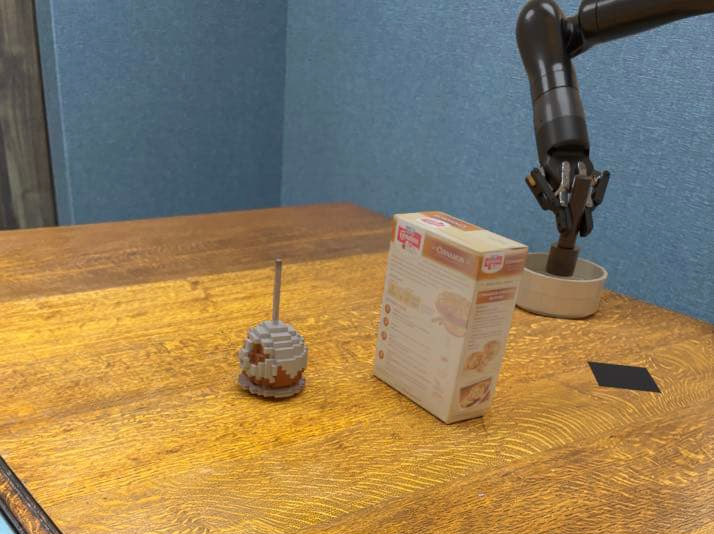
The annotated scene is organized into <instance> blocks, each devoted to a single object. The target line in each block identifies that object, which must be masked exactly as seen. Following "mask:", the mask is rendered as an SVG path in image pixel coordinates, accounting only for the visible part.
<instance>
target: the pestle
mask: <svg viewBox="0 0 714 534" xmlns="http://www.w3.org/2000/svg"><path fill="white" fill-rule="evenodd" d="M592 180H593V178H592V177H589V176H585V175H575V177H574V181H573V185H572V189H571V193H570V194H569V196H568V205H567V207H569V208H570V214H571V221H572V227H573V229H572V232H571V233H570V234H569V235H568V236H567V237H561V233H559V237H558V240H557V241H554V242H552V243H551V244H550V248H549V252H548V253H549V256H548V260H547V264H546V268H545V271H546V272H547V273H549V274H552V275H555V276H560V277H570V276H573V274H574V270H575V267H576V263H577V259H578V258H579V255H580V252H581V247H580V246H578V245H576V243H577V240H578V236H579V229H580V225H581V221H582V217H583V214H584V210H585V206H586V202H587V199H588V195H589V191H590V192H591V190H590V188H592V187H591V184H592Z"/></svg>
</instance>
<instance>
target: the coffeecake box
mask: <svg viewBox="0 0 714 534" xmlns="http://www.w3.org/2000/svg"><path fill="white" fill-rule="evenodd" d="M529 249H530V247H529V246H528V245H526V244H523V243H520V242H518V241H516V240H513V239H510V238H507V237H505V236H502V235H500V234H498V233H495V232H492V231H490V230H487V229H485V228H482V227H480V226H478V225H475V224H473V223H470V222H467V221H466V220H462V219H460V218H457V217H454V216H452V215H450V214H448V213H444V212H442V211H439V210H432V211H418V212H409V213H408V212H407V213H395V214H393V219H392V228H391V236H390V242H389V249H388V256H387V257H388V258H387V264H386V272H385V279H384V287H383V293H382V301H381V308H380V315H379V323H378V329H377V336H376V337H377V338H376V346H375V352H374V360H373V366H372V375H373V376H375V377H376V378H378V379H379V380H381V381H382V382H384V383H386V384H387V385H388V386H390V387H391V388H393V389H395V391H397V392H399V393H400V394H402V395H403V396H405V397H407V398H408V399H410V400H411V401H412V402H414V403H415V404H417V405H418V406H420V407H421V408H423V409H424V410H425V411H427V412H429V413H430V414H432V415H433V416H435V417H436V418H438V419H439V420H441V421H442V422H444V424H446V425H449V424H450V425H451V424H453V423H457V422H461V421H464V420H470V419H475V418H480V417H483V416H484V415H483V414H486V413H490V412H491V410H492V408H493V407H492V406H493V402H494V398H495V394H496V389H497V385H498V381H499V376H500V373H501V367H502V364H503V359H504V355H505V351H506V347H507V342H508V338H509V334H510V329H511V325H512V320H513V317H514V311H515V307H516V300H517V295H518V291H519V287H520V282H521V278H522V274H523V270H524V265H525V261H526V257H527V253H529Z"/></svg>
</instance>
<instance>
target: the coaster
mask: <svg viewBox="0 0 714 534" xmlns="http://www.w3.org/2000/svg"><path fill="white" fill-rule="evenodd" d="M587 364H588V366H589V368H590V371H591V372H592V374H593V376H594V379H595V380H596V383H597V385H598V386H599V387H601V388H602V387H603V388H610V389H611V388H612V389H622V390H630V391H638V392H649V393H656V394H657V393H658V394H662V391H661V389H660V388H659V385H658V384H657V382H656V381H655V379H654V378H653V377H652V375H651V373H650V372H649V370H648V368H647V367H645V366H644V367H643V366H634V365H627V364H626V365H625V364H617V363H608V362H607V363H606V362H600V361H599V362H598V361H590V360H587Z"/></svg>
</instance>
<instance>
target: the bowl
mask: <svg viewBox="0 0 714 534" xmlns="http://www.w3.org/2000/svg"><path fill="white" fill-rule="evenodd" d="M548 256H549V252H542V251H541V252H537V251H533V252H528V253H527V257H526V261H525V265H524V270H523V274H522V278H521V282H520V287H519V291H518V295H517V300H516V304H515V306H517V307H518V308H521V309H523V310H524V311H527V312H530V313H533V314H536V315H540V316H544V317H547V318H548V317H549V318H556V319H564V320H565V319H567V320H569V319H570V320H572V319H573V320H574V319H581V318H586V317H588V316H591V315H593V314H594V313H596V312H597V311H598V309H599V306H600V303H601V299H602V297H603V292H604V289H605V285H606V283H607V279H608V275H609V272H608V271H607V269H605V268H604V267H603V266H601V265H599V264H597V263H595V262H593V261H591V260H588V259H584V258H581V257H578V259H577V263H576V267H575V270H574V274H573V276H570V277H560V276H555V275H552V274H549V273H547V272H546V271H545V268H546V264H547V260H548Z"/></svg>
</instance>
